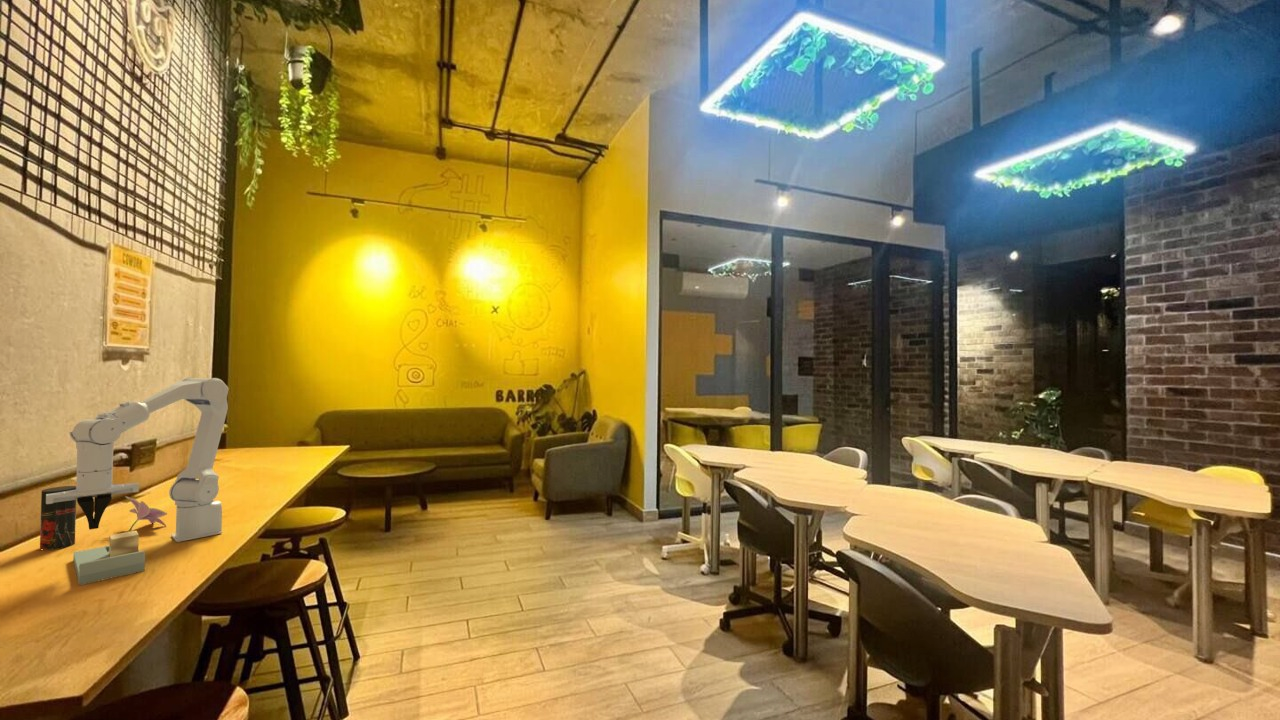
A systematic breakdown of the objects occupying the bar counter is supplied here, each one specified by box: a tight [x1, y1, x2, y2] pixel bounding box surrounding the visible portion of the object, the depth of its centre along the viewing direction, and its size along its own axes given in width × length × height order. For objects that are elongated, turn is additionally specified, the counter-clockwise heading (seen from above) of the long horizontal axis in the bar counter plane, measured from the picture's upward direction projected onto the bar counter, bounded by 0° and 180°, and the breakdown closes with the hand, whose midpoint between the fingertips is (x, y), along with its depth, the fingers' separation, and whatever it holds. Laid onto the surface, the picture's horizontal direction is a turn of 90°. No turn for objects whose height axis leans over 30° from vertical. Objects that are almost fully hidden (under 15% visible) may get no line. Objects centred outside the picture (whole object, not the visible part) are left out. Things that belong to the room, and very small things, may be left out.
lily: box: [124, 495, 168, 532], centre depth 142 cm, size 12×12×10 cm
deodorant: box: [39, 485, 77, 551], centre depth 128 cm, size 6×6×15 cm
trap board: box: [73, 545, 146, 586], centre depth 116 cm, size 10×21×4 cm, turn 51°
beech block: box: [108, 530, 140, 557], centre depth 119 cm, size 4×4×4 cm
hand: (93, 528), depth 115 cm, fingers closed
